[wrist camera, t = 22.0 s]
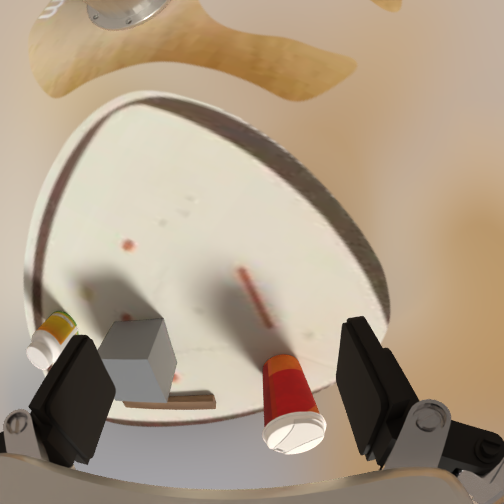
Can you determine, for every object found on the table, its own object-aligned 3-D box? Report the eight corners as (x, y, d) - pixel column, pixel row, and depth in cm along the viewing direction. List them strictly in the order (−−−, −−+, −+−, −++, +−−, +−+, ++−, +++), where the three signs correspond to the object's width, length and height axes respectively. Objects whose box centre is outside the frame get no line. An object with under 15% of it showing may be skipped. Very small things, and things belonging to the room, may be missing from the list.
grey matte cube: (115, 320, 39) (92, 358, 30) (164, 317, 38) (147, 359, 30) (132, 360, 41) (115, 400, 33) (177, 359, 41) (167, 402, 33)
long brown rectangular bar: (125, 389, 44) (121, 399, 42) (214, 390, 44) (213, 401, 41) (129, 397, 45) (126, 407, 42) (216, 397, 45) (215, 408, 42)
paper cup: (282, 392, 44) (295, 461, 30) (245, 371, 42) (249, 445, 29) (317, 362, 42) (342, 430, 29) (280, 338, 40) (297, 411, 27)
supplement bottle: (49, 307, 38) (17, 338, 29) (75, 310, 38) (45, 345, 29) (57, 335, 39) (29, 370, 30) (83, 340, 40) (57, 377, 31)
